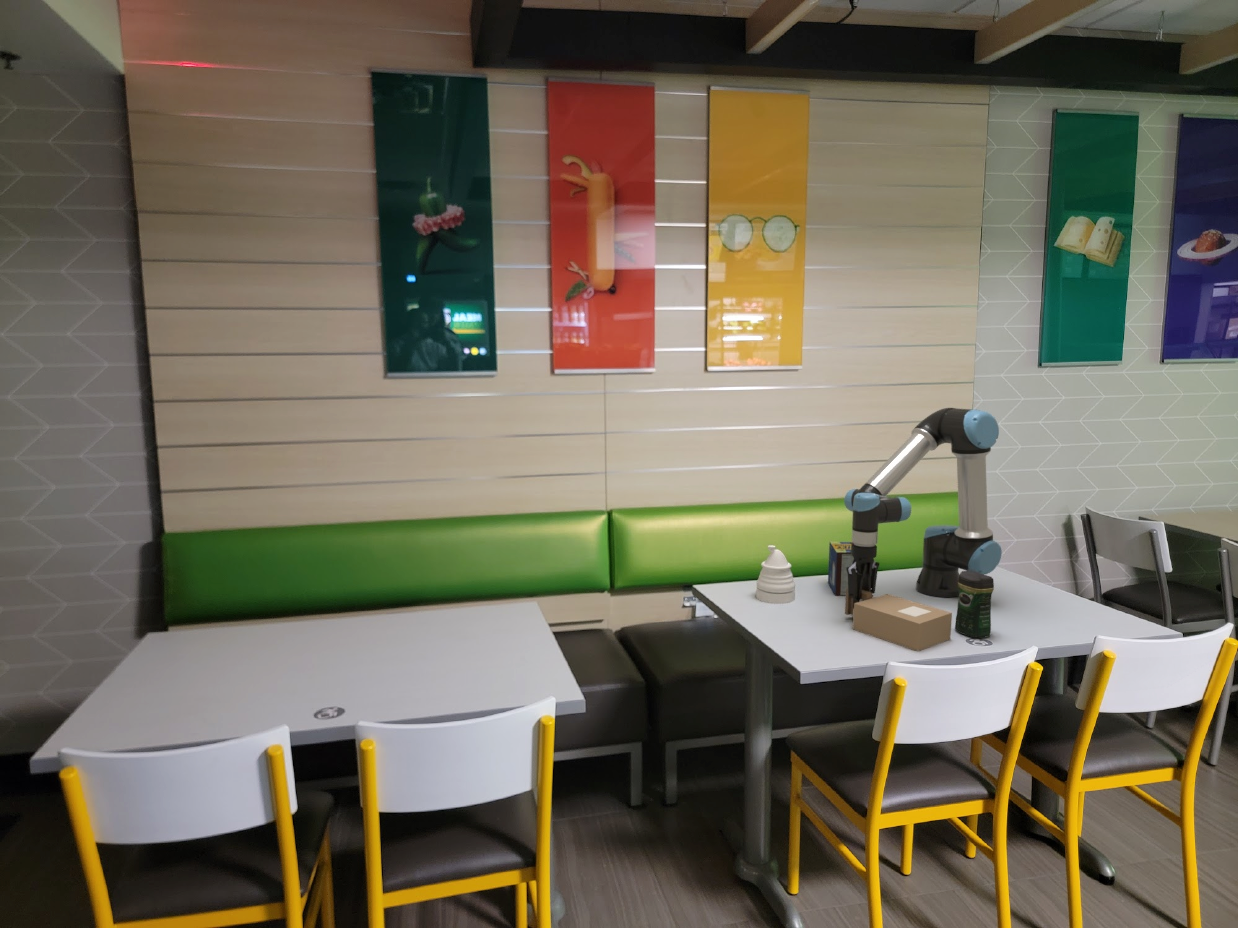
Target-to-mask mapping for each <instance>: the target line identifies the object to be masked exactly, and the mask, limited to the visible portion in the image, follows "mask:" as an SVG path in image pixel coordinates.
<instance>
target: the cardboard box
mask: <svg viewBox="0 0 1238 928" xmlns="http://www.w3.org/2000/svg"><path fill="white" fill-rule="evenodd" d="M852 618H853V617H852ZM952 618H953V612H951V611H946V610H944V609H940V608H937V607H933V606H929V605H926V604H923V603H920V602H915V601H912V600H909V599H906V598H905V599H904V598H902V597H898V596H895V595H892V594H888V593H886V594H883V595H880V596H876V597H872V598H871V599H868V600H864V601H861V602H858V603H854V618H853V621H852V623H853V624H852V630H854V631H857V632H861V633H863V634H865V635H869V636H872V637H874V638H875V637H876V638H878V639H880V640H884V641H887V642H890V643H893V644H896V645H898V646H901V647H905V648H907V649H909V650H913V651H916V652H919V651H922V650H925V649H928V648H931V647H934V646H937V645H938V644H941V643H944V642H947V641H950V640H951V635H952V633H951V631H952Z"/></svg>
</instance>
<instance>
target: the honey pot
mask: <svg viewBox="0 0 1238 928" xmlns="http://www.w3.org/2000/svg"><path fill="white" fill-rule="evenodd" d="M776 547H777V546H776V545H772V544H771V545H767V549H768V551H769V552H770V553H769V555H768V556H767V558H766V559H765V560H764V561H762V562H761V563H760V566H761V567H762V568H761V570H760V572H759V576H758V579H757V580H756V589H755V590H756V591H755V593H756V595H755V597H756V599H757V600H759V601H761V602H764V603H768V604H774V605H775V604H776V605H777V604H780V605H781V604H782V605H783V604H790V603H792V602H794V601H795V599H796V582H795V580H794V575H793V572H792V570H791V568H792V563H790V562H789V561H788V560H787V558H786V556H785V554H784V553H783V551H781V550H780V549H776Z"/></svg>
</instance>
